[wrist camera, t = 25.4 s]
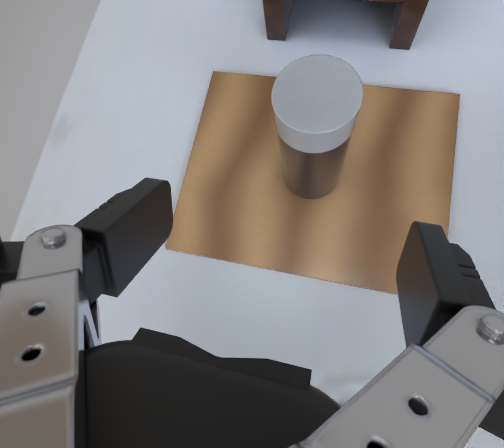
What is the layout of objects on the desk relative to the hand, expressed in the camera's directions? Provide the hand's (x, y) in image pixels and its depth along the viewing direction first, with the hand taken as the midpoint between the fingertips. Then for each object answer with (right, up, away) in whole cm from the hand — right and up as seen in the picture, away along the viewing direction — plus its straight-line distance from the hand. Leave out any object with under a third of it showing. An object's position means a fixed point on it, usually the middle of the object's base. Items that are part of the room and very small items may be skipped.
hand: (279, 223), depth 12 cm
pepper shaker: (+4, +4, +15) cm, 16 cm away
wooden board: (+4, +4, +16) cm, 17 cm away
